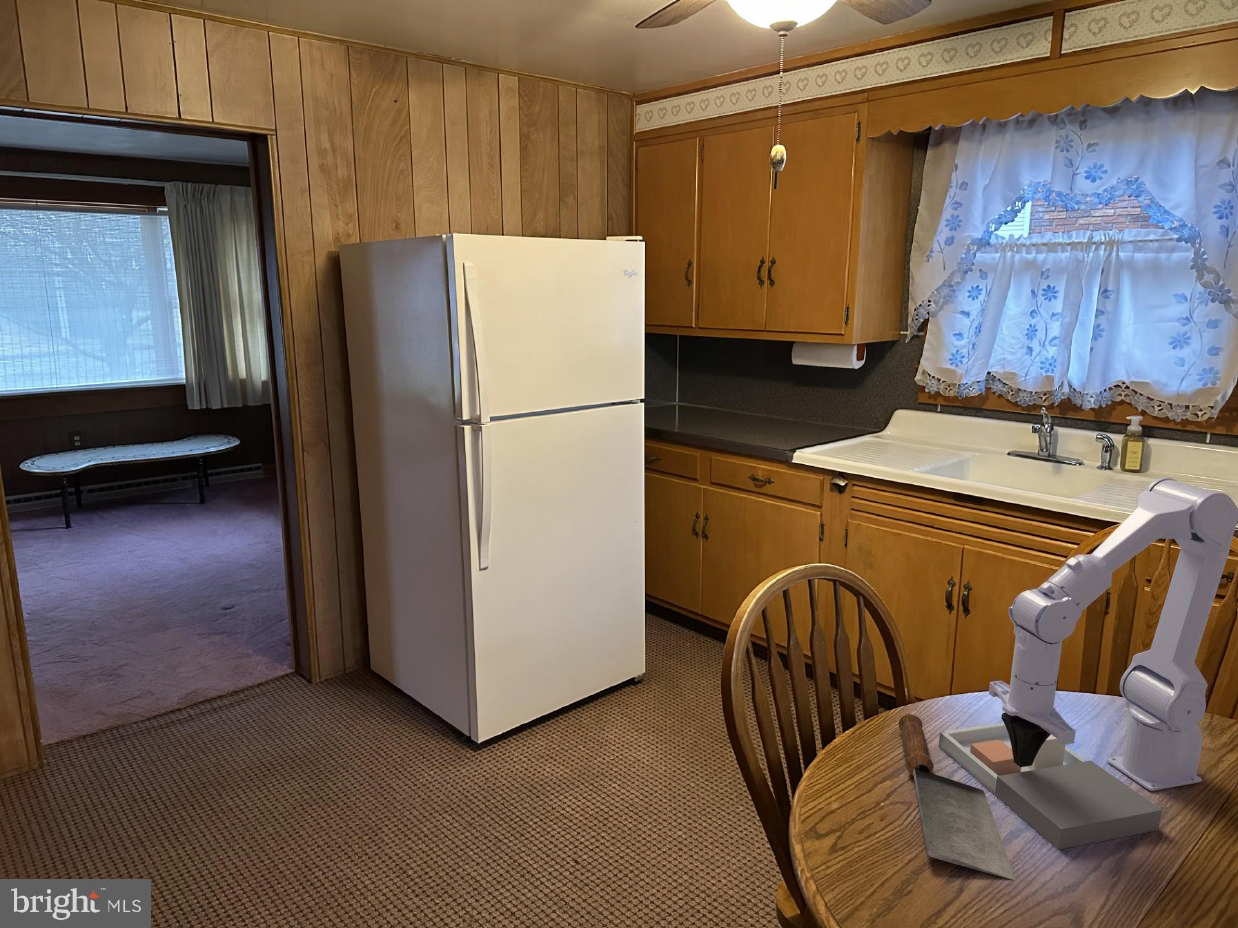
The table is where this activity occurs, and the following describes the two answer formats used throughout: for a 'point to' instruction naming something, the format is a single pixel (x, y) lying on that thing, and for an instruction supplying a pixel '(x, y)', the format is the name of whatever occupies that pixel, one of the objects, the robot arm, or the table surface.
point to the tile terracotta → (995, 756)
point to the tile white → (1049, 754)
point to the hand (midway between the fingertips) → (1023, 763)
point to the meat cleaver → (952, 811)
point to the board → (1077, 804)
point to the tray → (961, 740)
